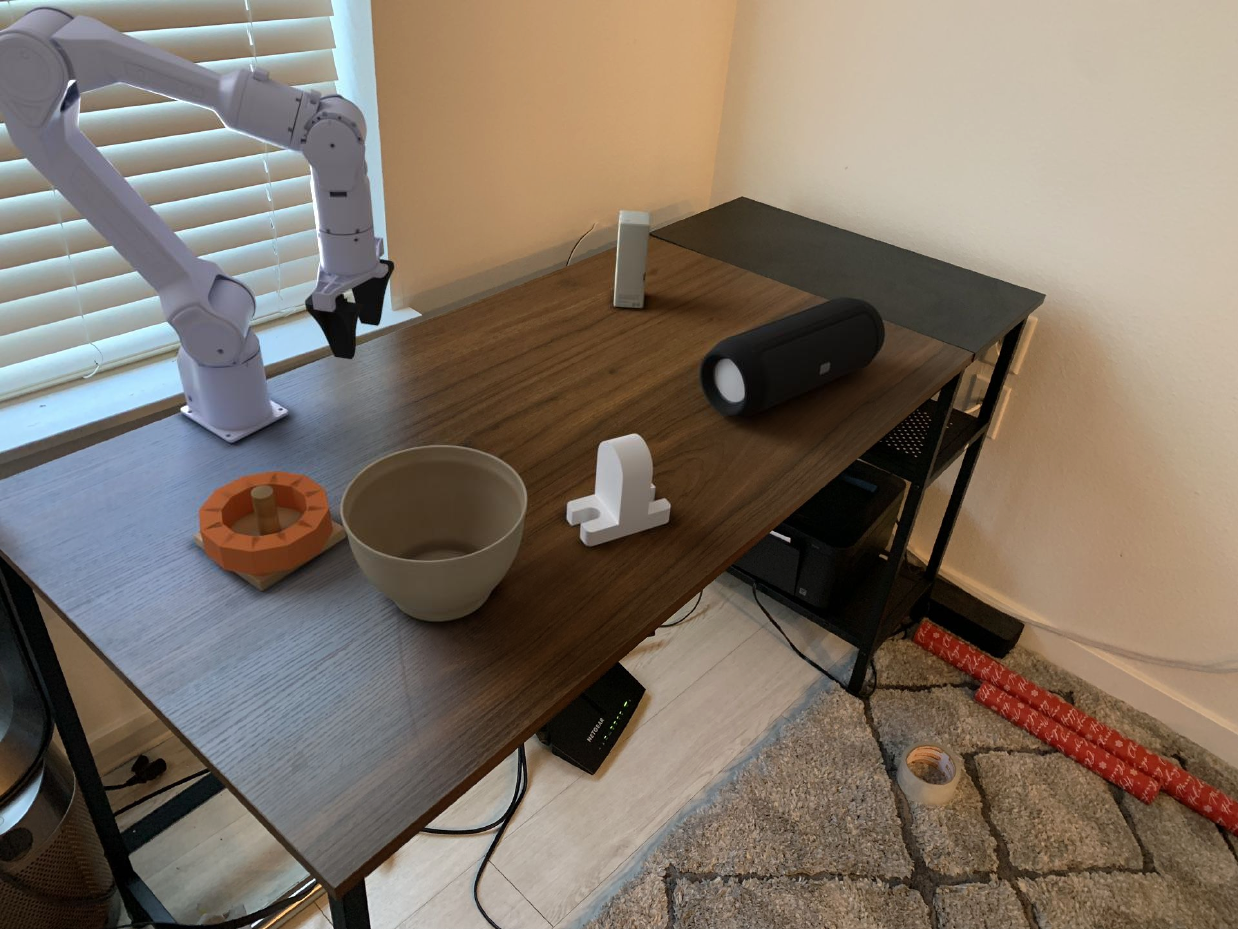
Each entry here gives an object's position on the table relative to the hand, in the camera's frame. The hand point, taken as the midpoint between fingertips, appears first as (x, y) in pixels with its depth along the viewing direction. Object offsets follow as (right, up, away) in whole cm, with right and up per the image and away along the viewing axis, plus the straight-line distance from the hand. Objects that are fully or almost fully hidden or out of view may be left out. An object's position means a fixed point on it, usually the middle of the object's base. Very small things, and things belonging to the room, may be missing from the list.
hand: (357, 339), depth 105 cm
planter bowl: (+12, -26, -16) cm, 32 cm away
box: (+31, +10, +34) cm, 47 cm away
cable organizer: (+29, -20, -6) cm, 36 cm away
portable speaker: (+51, -4, +17) cm, 54 cm away
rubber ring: (-5, -21, -13) cm, 25 cm away
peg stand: (-5, -21, -12) cm, 25 cm away
